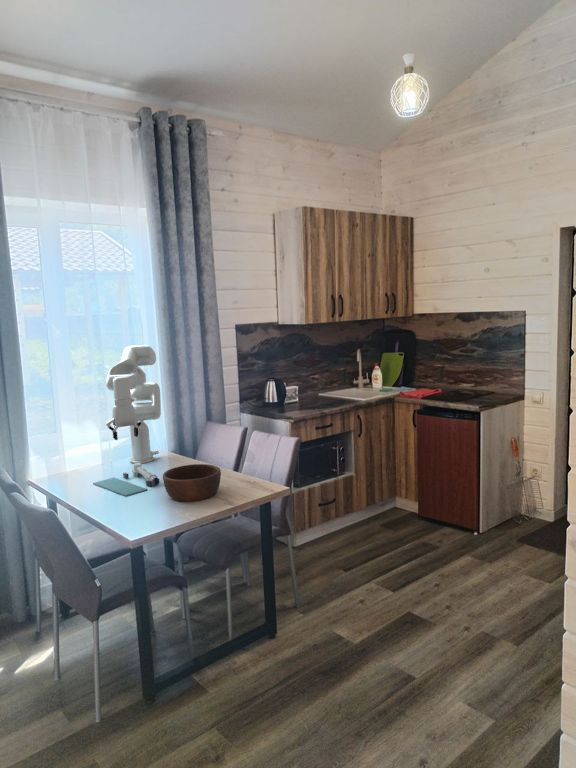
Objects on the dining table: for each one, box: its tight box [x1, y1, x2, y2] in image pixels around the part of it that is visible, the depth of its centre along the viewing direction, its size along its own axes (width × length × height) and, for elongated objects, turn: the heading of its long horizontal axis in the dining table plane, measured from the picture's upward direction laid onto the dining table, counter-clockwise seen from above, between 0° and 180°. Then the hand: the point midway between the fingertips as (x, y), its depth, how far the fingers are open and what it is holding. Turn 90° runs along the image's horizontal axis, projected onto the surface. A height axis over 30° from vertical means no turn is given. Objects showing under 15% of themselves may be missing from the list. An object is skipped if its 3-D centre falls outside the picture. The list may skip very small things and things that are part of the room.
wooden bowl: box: [162, 463, 222, 503], centre depth 255 cm, size 25×25×10 cm
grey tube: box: [131, 463, 161, 487], centre depth 280 cm, size 5×7×25 cm
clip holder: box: [122, 472, 153, 488], centre depth 280 cm, size 10×24×2 cm, turn 45°
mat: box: [92, 476, 148, 498], centre depth 271 cm, size 11×30×1 cm, turn 45°
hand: (126, 437), depth 278 cm, fingers open, 9 cm apart
